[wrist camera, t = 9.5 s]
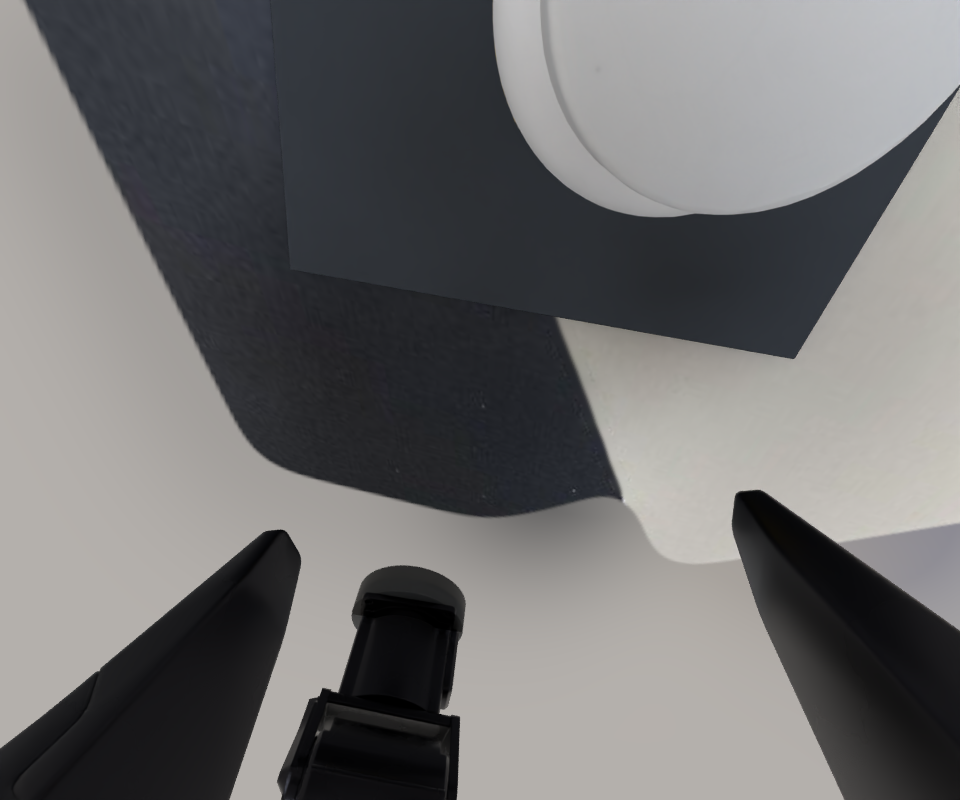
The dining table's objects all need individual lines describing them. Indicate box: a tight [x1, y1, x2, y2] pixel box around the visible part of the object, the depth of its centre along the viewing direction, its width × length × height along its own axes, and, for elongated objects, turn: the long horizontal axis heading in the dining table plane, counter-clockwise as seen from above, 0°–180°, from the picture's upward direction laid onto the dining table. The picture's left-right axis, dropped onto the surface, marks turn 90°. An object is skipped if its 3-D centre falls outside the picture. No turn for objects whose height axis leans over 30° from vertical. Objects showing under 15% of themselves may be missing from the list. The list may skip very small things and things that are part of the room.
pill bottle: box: [493, 0, 960, 217], centre depth 9 cm, size 6×6×11 cm
